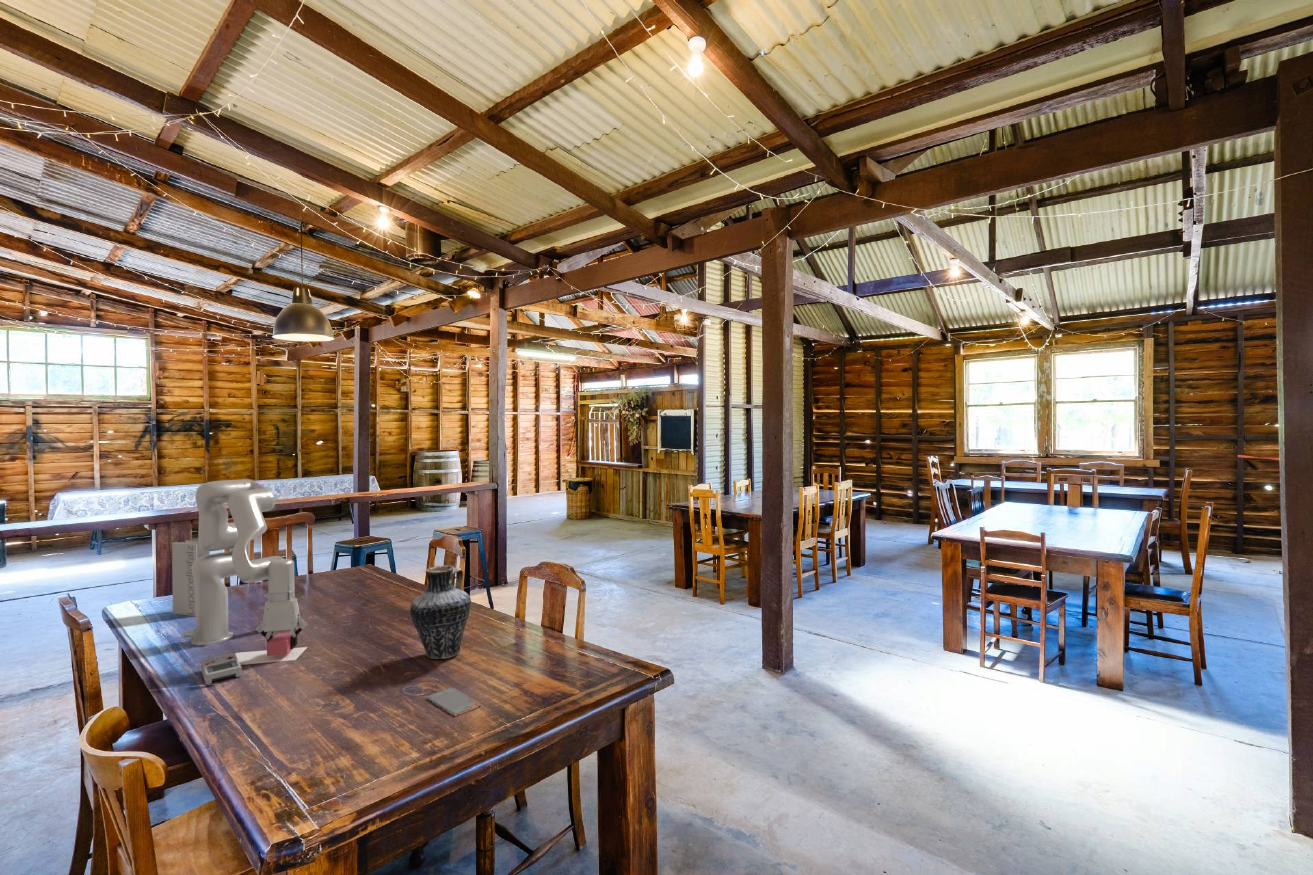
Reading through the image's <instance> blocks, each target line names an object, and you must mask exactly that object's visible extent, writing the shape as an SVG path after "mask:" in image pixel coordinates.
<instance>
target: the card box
mask: <svg viewBox="0 0 1313 875" xmlns="http://www.w3.org/2000/svg"><path fill="white" fill-rule="evenodd" d="M273 636H274V637H273V638H272V639H270V640H269V641H268V642H267V641H266V650H267V656H273V655H284V654H288V653H289V652H290V651H291V650H292V649H291V643H290V638H291V637H292V635H291V633H290V632H281V633H279V632H277V633H276V634H275V635H273Z"/></svg>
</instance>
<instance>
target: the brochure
mask: <svg viewBox="0 0 1313 875" xmlns="http://www.w3.org/2000/svg"><path fill="white" fill-rule="evenodd" d="M210 554H211V551H203V550H201V549H200V547H199V543H198V541H197V540H185V542H171V557H172V558H171V559H172V560H171V562H172V563H171V565H172V568H171V569H172V570H171V571H172V614H176V615H183V616H184V615H185V616H193V617H196V594H195V583H194V578H193V574H192V564H193V562H194V561H195V560H196V559H198V558H200V557H202V556H205V555H210Z"/></svg>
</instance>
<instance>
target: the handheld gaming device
mask: <svg viewBox="0 0 1313 875" xmlns="http://www.w3.org/2000/svg"><path fill="white" fill-rule="evenodd" d="M235 654H236V653H235V652H231V653H227V654H223V655H218V656H215V657H210V658H207V659H206V660H204V661H203V662H202V663H201V667H200V668H201V673H202V677H203V679H204V683H205V685H211V684H213V681H217V680H220V679H226V678H230V677H233V676H235V678H239V677H242V673H243V672H242V671H243V670H242V665H240V663H239V661H238V659H237V657H236V655H235Z"/></svg>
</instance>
